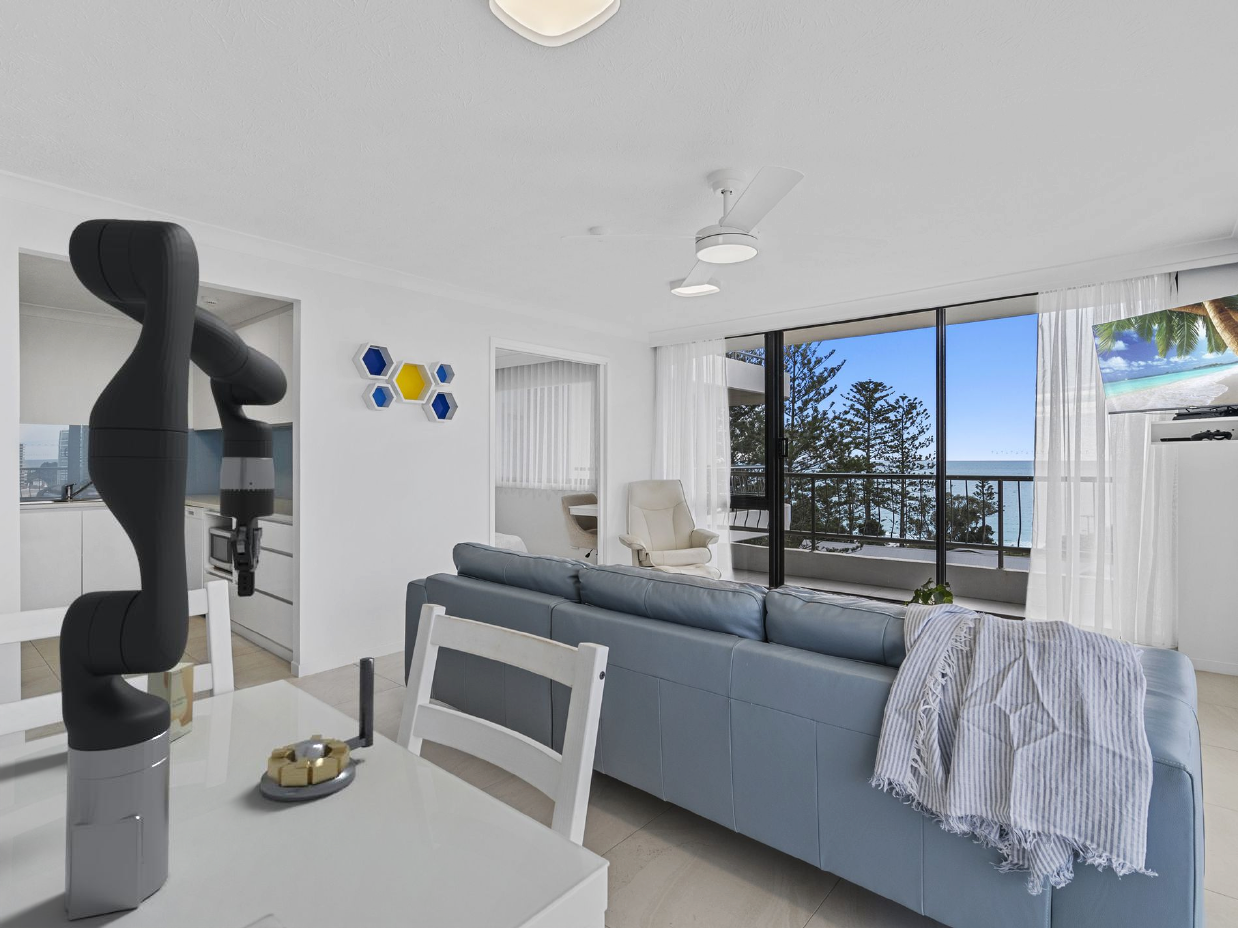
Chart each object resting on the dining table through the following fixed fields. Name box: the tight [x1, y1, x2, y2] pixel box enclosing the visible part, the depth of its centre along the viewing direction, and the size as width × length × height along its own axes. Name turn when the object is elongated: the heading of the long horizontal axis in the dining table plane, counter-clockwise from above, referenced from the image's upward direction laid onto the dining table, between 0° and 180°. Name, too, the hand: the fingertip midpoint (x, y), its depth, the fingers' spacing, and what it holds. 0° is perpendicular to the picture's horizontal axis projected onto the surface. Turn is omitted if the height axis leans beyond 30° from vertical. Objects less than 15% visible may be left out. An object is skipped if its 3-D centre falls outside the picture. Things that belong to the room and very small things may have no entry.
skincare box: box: [146, 662, 195, 743], centre depth 117 cm, size 6×4×12 cm
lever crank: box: [267, 656, 375, 786], centre depth 102 cm, size 16×11×14 cm, turn 138°
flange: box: [260, 738, 357, 804], centre depth 100 cm, size 13×13×6 cm
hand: (246, 595), depth 105 cm, fingers closed
